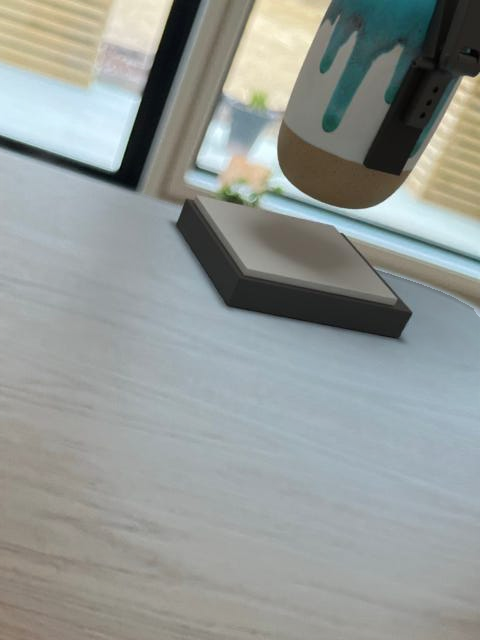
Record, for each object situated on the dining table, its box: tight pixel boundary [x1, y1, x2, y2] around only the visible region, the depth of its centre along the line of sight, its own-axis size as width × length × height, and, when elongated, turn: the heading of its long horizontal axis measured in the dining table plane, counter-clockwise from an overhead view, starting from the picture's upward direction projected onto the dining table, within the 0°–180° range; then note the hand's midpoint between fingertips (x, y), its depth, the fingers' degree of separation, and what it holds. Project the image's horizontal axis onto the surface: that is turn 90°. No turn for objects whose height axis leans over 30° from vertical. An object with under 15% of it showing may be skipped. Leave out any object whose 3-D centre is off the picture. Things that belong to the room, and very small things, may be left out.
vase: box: [276, 0, 471, 210], centre depth 73 cm, size 11×11×19 cm
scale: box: [176, 194, 413, 339], centre depth 83 cm, size 15×14×3 cm
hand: (349, 139), depth 77 cm, fingers closed on vase, 11 cm apart
